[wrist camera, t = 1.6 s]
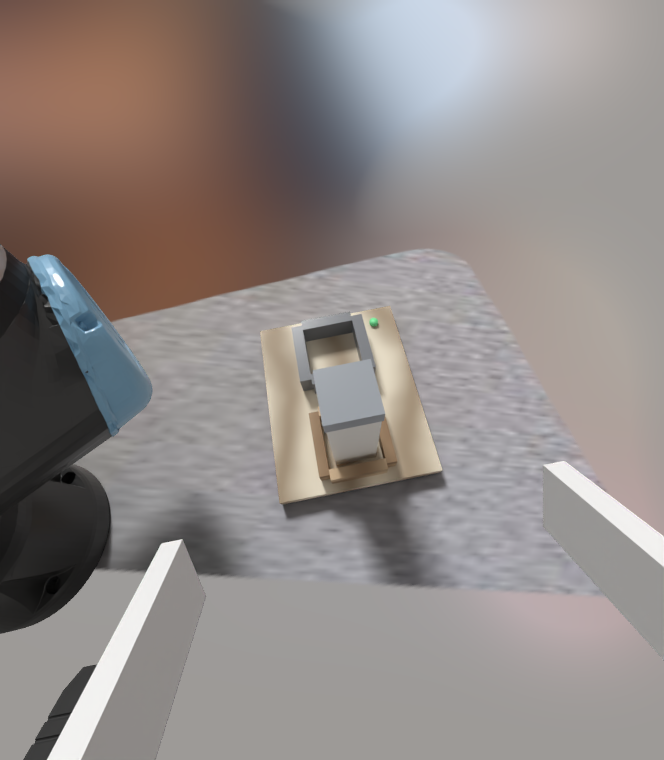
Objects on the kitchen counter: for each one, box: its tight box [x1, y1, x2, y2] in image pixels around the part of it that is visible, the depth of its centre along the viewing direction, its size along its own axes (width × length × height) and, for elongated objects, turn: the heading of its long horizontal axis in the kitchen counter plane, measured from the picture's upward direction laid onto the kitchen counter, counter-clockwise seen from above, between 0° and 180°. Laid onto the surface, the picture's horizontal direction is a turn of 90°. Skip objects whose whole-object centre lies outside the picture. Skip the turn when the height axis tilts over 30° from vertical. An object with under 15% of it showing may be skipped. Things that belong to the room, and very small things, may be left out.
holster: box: [309, 406, 397, 484], centre depth 35 cm, size 7×7×2 cm
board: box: [260, 306, 442, 504], centre depth 38 cm, size 16×20×1 cm
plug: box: [313, 359, 385, 465], centre depth 30 cm, size 4×4×13 cm
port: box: [291, 312, 378, 394], centre depth 39 cm, size 10×8×2 cm
